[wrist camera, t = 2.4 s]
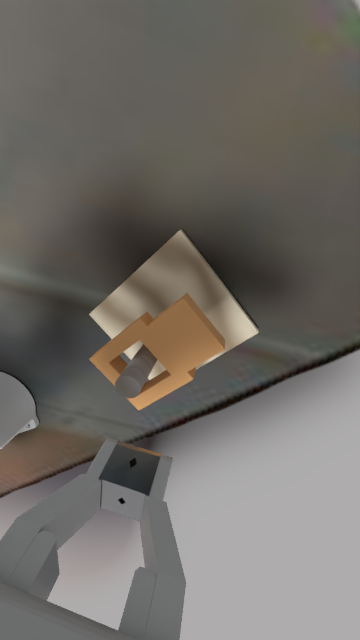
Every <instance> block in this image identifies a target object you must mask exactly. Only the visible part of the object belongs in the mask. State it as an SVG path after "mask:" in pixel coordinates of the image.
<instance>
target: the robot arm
mask: <svg viewBox="0 0 360 640" xmlns="http://www.w3.org/2000/svg"><path fill="white" fill-rule="evenodd" d="M38 425H39V421H38V418H37V416H36V407H35V402H34V400H33V397H32V396H31V394H30V392H29V391H28V390H27V389H26V387H25V386H24V385H23V384H22V383H20V382H19V381H18V380H17V379H15V378H14V377H12V376H10V375H8V374H6V373H3V372H0V449H2V448H3V447H4V446H5V445H6V444H7V443H8V442H9V441H10V440H12V439H13V438H14V437H15V436H16V435H17V434H19V433H22V432H25V431H27V430H30V429H33V428H35V427H37V426H38ZM171 464H172V457H168V456H165V455H161V454H159V453H156V452H153V451H149V450H146V449H143V448H138V447H135V446H132V445H129V444H126V443H123V442H120V441H117V440H114V439H111V438H107V439H106V440H105V442H104V443H103V445H102V447H101V448H100V450H99V452H98V454H97V455H96V457H95V459H94V460H93V462H92V464H91V466H90V467H89V469H88V471H87V473H86V474H81V475H79V476H78V477H76V478H75V479H73V480H72V481H70V482H69V483H67V484H66V485H65V486H63V487H62V488H60V489H59V490H57V491H56V492H54V493H53V494H51V495H50V496H48V497H47V498H45V499H44V500H42V501H41V502H40V503H38V504H37V505H35V506H34V507H32V508H31V509H29V510H28V511H26V512H25V513H23V514H22V515H20V516H19V517H17V519H16V520H15V521H14V523H13V524H12V525H11V527H10V528H9V529H8V531H7V532H6V533H5V535H4V536H3V537H2V539H1V540H0V640H179V638H180V629H181V621H182V612H183V603H184V595H185V587H186V581H185V577H184V573H183V568H182V564H181V560H180V557H179V552H178V548H177V544H176V540H175V536H174V532H173V528H172V524H171V520H170V516H169V512H168V508H167V504H166V502H164V501H163V497H164V494H165V489H166V485H167V481H168V476H169V473H170V468H171ZM100 508H102V509H106V510H109V511H112V512H115V513H118V514H121V515H124V516H127V517H129V518H132V519H134V520H137V521H139V522H140V529H141V538H142V547H143V555H144V563H145V568H143V567H139V568H138V569H137V570H136V571H135V573H134V577H133V580H132V584H131V587H130V591H129V594H128V598H127V602H126V606H125V609H124V612H123V616H122V619H121V623H120V627H119V630H118V631H117V630H115V629H112V628H110V627H108V626H106V625H103V624H101V623H98V622H96V621H94V620H91V619H89V618H86V617H84V616H82V615H79V614H77V613H74V612H72V611H70V610H67V609H65V608H62V607H60V606H57V605H55V604H53V603H50V602H48V601H47V599H48V597H49V595H50V592H51V590H52V588H53V586H54V584H55V582H56V580H57V578H58V576H59V564H58V554H57V550H58V549H59V548H60V547H61V546H62V545H63V544H64V543H65V542H66V541H67V540H68V539H69V538H70V537H72V536H73V535H74V534H75V533H76V532H77V531H78V530H79V529H80V528H81V527H82V526H83V525H84V524H85V523H86V522H87V521H88V520H90V519H91V518H92V517H93V516H94V515H95V514H96V513H97V512H98V511H99V510H100Z"/></svg>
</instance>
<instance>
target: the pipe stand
mask: <svg viewBox="0 0 360 640" xmlns="http://www.w3.org/2000/svg"><path fill="white" fill-rule="evenodd" d="M186 293H188V294H189V296H190V297H191V298H192V299H193V301H194V302H195V303H196V304H197V305H198V307H199V308H200V309H201V310H202V312H203V313H204V314H205V315H206V317H207V318H208V319H209V320H210V322H211V323H212V324H213V325H214V327H215V328H216V329H217V330H218V331H219V333H220V334H221V335H222V336H223V338H224V339H225V350H223V351H222V352H220V353H218V354H217V355H215V356H213V357H212V358H210V359H208V360H207V361H205V362H203V363H201V364H200V365H198V366H196V369H198V368H200V367H201V366H203V365H205V364H206V363H208V362H210V361H212V360H213V359H215V358H217V357H218V356H220V355H222V354H223V353H225V352H227V351H229V350H230V349H232V348H234V347H235V346H237V345H239V344H240V343H242V342H244V341H246V340H247V339H249V338H251V337H252V336H254V335H256V334H257V333H259V331H258V328H257V327H256V326H255V324H254V323H253V322H252V320H251V319H250V318H249V316H248V315H247V314H246V313H245V311H244V310H243V309H242V307H241V306H240V305H239V303H238V302H237V301H236V299H235V298H234V297H233V296H232V294H231V293H230V292H229V290H228V289H227V288H226V286H225V285H224V284H223V282H222V281H221V280H220V279H219V277H218V276H217V275H216V273H215V272H214V271H213V269H212V268H211V267H210V265H209V264H208V263H207V262H206V260H205V259H204V258H203V256H202V255H201V254H200V252H199V251H198V250H197V248H196V247H195V246H194V245H193V243H192V242H191V241H190V239H189V238H188V237H187V235H186V234H185V233H184V231H183V230H179V231H178V232H177V233H176V234H175V235H174V236H173V237H172V238H171V239H170V240H169V241H167V242H166V243H165V244H164V245H163V246H162V247H161V248H160V249H159V250H158V251H157V252H156V253H155V254H153V255H152V256H151V257H150V258H149V259H148V260H147V261H146V262H145V263H144V264H143V265H142V266H141V267H139V268H138V269H137V270H136V271H135V272H134V273H133V274H132V275H131V276H130V277H129V278H128V279H127V280H126V281H124V282H123V283H122V284H121V285H120V286H119V287H118V288H117V289H116V290H115V291H114V292H113V293H112V294H110V295H109V296H108V297H107V298H106V299H105V300H104V301H103V302H102V303H101V304H100V305H99V306H98V307H96V308H95V309H94V310H93V311H92V312H91V313H90V314H89V315H90V316H91V317H92V318H93V319H94V320H95V321H96V323H97V324H98V325H99V326H100V327H101V328H102V329H103V330H104V331H105V332H106V333H107V334H108V335H109V337H110V338H111V339H113V338H114V337H116V336H117V335H118V334H119V333H121V332H122V331H123V330H124V329H126V328H127V327H128V326H129V325H130V324H132V323H133V322H134V321H135V320H137V319H138V318H139V317H140V316H142V315H143V314H144V313H145V312H148V313H149V314H150V315H151V316H152V317H153V319H154V318H155V317H156V316H158V315H159V314H160V313H161V312H163V311H164V310H165V309H167V308H168V307H169V306H170V305H172V304H173V303H174V302H176V301H177V300H178V299H180V298H181V297H182V296H183V295H185V294H186ZM124 353H125V354H126V355H127V356H128V357H129V358H130V359H131V361H130V362H129V364H128V365H127V367H126V368H125V369H124V371H123V372H122V373H121V375H120V376H119V377H118V379H117V380H116V382H115V388H116V390H117V392H118V393H119V394H120V395H122V396H123V397H126V398H135V397H137V396H138V395H139V393H140V391H141V389H142V388H143V386H144V384H145V382H146V380H147V378H148V379H149V380H151V379H153V378H154V377H156V376H157V375H159V374H161V373H162V372H164V371H165V370H166V368H165V367H164V366H163V365H162V364H161V363H160V362H159V361H158V360H157V358H156V357H155V356H154V355H153V354H152V353H151V352H150V351H149V349H148V348H147V347H146V346H145V345H144V344H143V343H142V342H141V341H140V340H139V341H137V342H136V343H135V344H133V345H132V346H131V347H129V348H128V349H127V350H125V351H124Z"/></svg>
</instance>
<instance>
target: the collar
mask: <svg viewBox="0 0 360 640" xmlns="http://www.w3.org/2000/svg"><path fill="white" fill-rule="evenodd" d="M139 340H140V341H141V342H142V343H143V344H144V345H145V346H146V347H147V348H148V349H149V351H150V352H151V353H152V354H153V355H154V356H155V357H156V358H157V360H158V361H159V362H160V363H161V364H162V365H163V366H164V367H165V368H166V370H165V371H164V372H162V373H161V374H159V375H157V376H156V377H154V378H153V379H151V380H149V381H148V382H146V383H145V384H144V386H143V388H142V389H141V391H140V393H139V395H138V396H137V397H135V398H127V399H128V400H129V401H130V402H131V403H132V404H133V405H134V406H135V407H136V408H137V409H138V410H141V409H142V408H144V407H146V406H148V405H149V404H151V403H153V402H155V401H156V400H158V399H160V398H162V397H163V396H165V395H167V394H169V393H170V392H172V391H174V390H176V389H177V388H179V387H181V386H183V385H184V384H186V383H188V382H190V381H191V380H193V379H194V375H195V370H196V366H198V365H200V364H201V363H203V362H205V361H207V360H208V359H210V358H212V357H213V356H215V355H217V354H218V353H220V352H222V351H223V350H225V339H224V338H223V336H222V335H221V334H220V333H219V331H218V330H217V329H216V328H215V327H214V325H213V324H212V323H211V322H210V320H209V319H208V318H207V317H206V315H205V314H204V313H203V312H202V310H201V309H200V308H199V307H198V305H197V304H196V303H195V302H194V301H193V299H192V298H191V297H190V296H189V294H188V293H186V294H185V295H183V296H182V297H181V298H180V299H178V300H177V301H176V302H174V303H173V304H172V305H170V306H169V307H168V308H167V309H165V310H164V311H163V312H161V313H160V314H159V315H158V316H156V317H155V318H154V319H153V317H152V316H151V315H150V314H149V313H148V312H145V313H144V314H143V315H142V316H140V317H139V318H138V319H137V320H135V321H134V322H133V323H132V324H130V325H129V326H128V327H127V328H126V329H124V330H123V331H122V332H121V333H119V334H118V335H117V336H116V337H114V338H113V339H112V340H111V341H109V342H108V343H107V344H106V345H104V346H103V347H102V348H101V349H99V350H98V351H97V352H96V353H95V354H94V355H93V356H92V357H91V358H90V359H89V360H90V361H91V362H92V363H93V364H94V365H95V366H96V367H97V368H98V369H99V370H100V371H101V372H102V373H103V374H104V375H105V376H106V377H107V378H108V379H109V380H110V381H111V382H112V383H113V385H114V386H115V382H116V380H117V379H118V377H119V376H120V375H121V373H122V372H123V371H124V369H125V368H126V367H127V365H128V364H127V363H126V362H125V361H124V360H123V359H122V358H121V357H120V356H119V355H120V354H121V353H123V352H124V351H125V350H127V349H128V348H129V347H131V346H132V345H133V344H135V343H136V342H137V341H139Z"/></svg>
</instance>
